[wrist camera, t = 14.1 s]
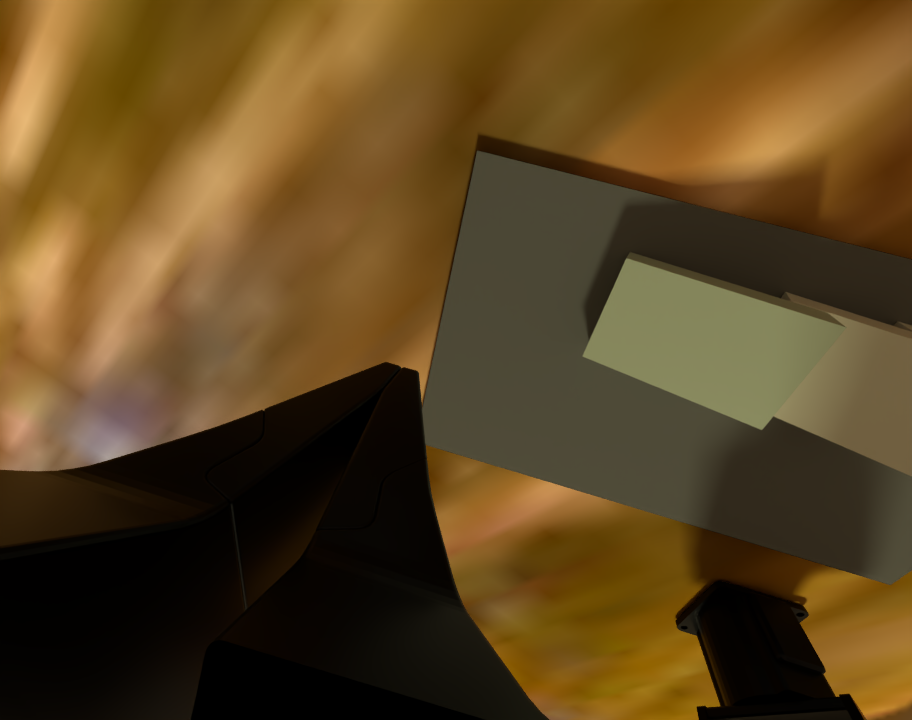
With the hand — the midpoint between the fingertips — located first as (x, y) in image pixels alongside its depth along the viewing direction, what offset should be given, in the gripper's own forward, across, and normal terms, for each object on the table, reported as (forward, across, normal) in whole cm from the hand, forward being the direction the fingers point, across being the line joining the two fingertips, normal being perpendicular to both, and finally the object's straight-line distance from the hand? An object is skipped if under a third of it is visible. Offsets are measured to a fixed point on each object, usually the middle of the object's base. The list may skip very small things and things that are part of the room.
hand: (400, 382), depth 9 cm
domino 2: (+11, -14, 0) cm, 18 cm away
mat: (+12, -15, +4) cm, 20 cm away
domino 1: (+11, -7, 0) cm, 13 cm away
